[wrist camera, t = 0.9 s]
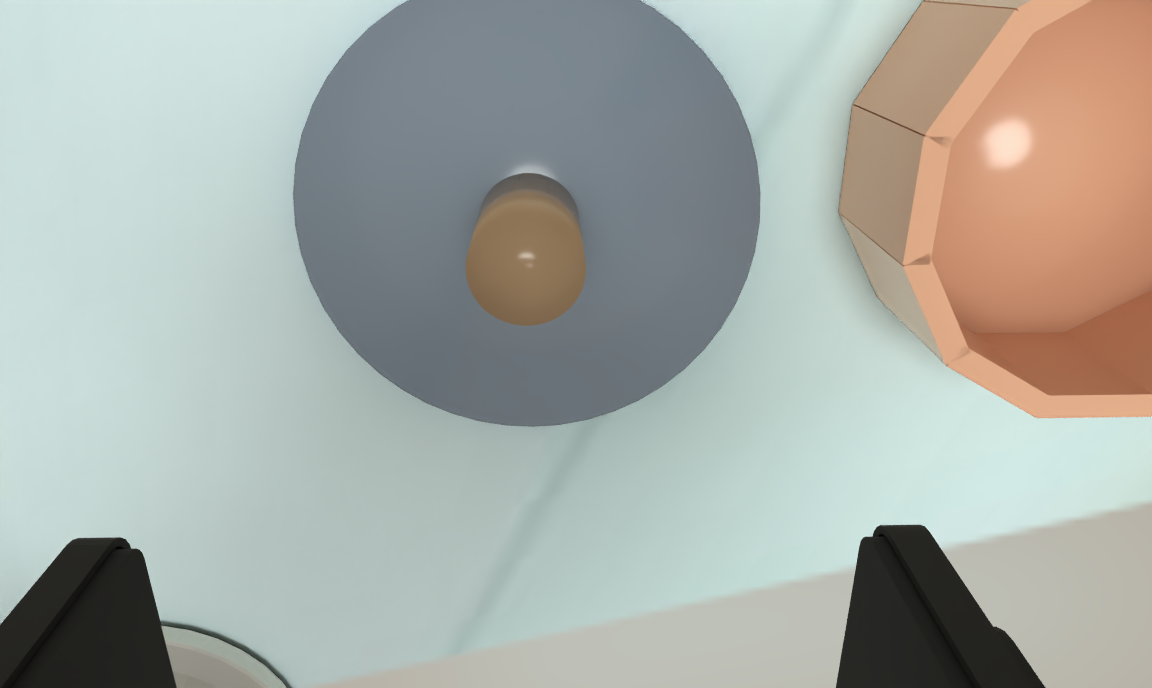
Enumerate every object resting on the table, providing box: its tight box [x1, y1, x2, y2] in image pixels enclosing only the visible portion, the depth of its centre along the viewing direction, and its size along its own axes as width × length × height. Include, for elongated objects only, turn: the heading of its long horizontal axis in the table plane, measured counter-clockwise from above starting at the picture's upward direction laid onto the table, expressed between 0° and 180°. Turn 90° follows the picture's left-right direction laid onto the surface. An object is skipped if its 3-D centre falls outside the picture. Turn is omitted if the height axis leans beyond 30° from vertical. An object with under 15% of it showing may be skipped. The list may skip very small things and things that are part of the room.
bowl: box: [839, 0, 1152, 418], centre depth 27 cm, size 14×14×6 cm
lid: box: [293, 0, 760, 426], centre depth 28 cm, size 16×16×6 cm
